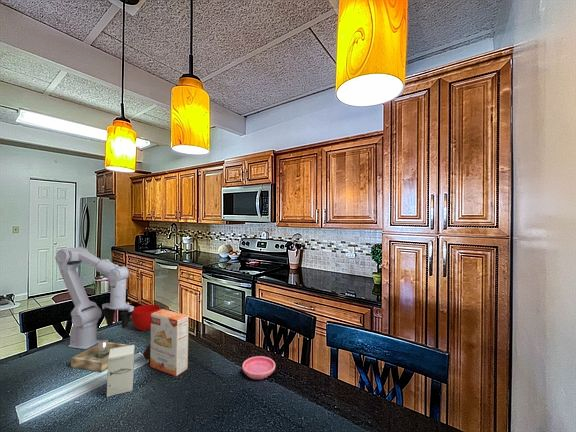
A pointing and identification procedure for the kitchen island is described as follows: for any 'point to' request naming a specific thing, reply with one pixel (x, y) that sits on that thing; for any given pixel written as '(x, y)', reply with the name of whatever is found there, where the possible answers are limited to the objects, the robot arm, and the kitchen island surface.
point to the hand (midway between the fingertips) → (117, 326)
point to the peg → (102, 348)
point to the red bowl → (143, 316)
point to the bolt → (147, 353)
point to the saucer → (258, 367)
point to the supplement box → (120, 370)
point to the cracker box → (169, 342)
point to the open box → (93, 359)
